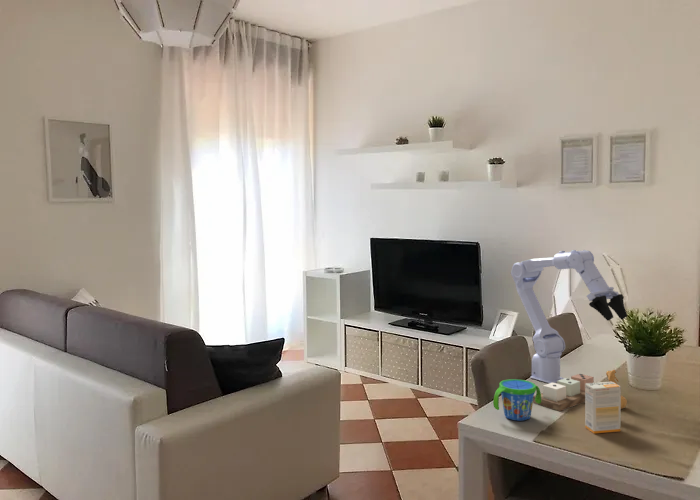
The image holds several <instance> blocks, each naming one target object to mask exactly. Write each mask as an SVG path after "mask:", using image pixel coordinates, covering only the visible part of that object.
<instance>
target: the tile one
mask: <svg viewBox="0 0 700 500" xmlns="http://www.w3.org/2000/svg"><path fill="white" fill-rule="evenodd" d="M542 393H543V398H546V399H549V400H553V401H556V402H557V401H560V400H563V399H566V386H564V385H560V384H557V383H553V382H552V383H546V384H544V385H542Z"/></svg>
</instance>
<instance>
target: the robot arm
mask: <svg viewBox="0 0 700 500" xmlns="http://www.w3.org/2000/svg"><path fill="white" fill-rule="evenodd" d="M594 262H595V256H594V254H593V252H592V251H590V250H586V249H582V250H578V251H577V249H573V250H570V251H566V250H559V251H558V252H557V253H555V254H554V256H553V257H540V258H539V257H538V258H530V259H526V260H522V261H520V262H519V261H518V262H515V263H513V265H512V267H511V272H510V275H511V277H512V280H513V282H514V284H515V290H516V292H517V295H518V297H519V298H520V301H521V303H522V305H523V307H524V310H525V312H526V314H527V316H528V318H529V320H530V323H531V325H532V327H533V330H534V332H535V333H534V335H533V336H532V341H533V347H534V351H535V353H534V354H533V355H532V359H531V375H530V376H529V378H530V379H533V380H537V381H540V382H544V383H546V384H549V383H552V382H553V383H557V381H559V380H562V379H565V378H566V377H562V376H561V356H562V354H563V352H564V351H565V350H566V343H565V339H564V338H563V336H561V334H560V333H559V331H558V330H556V329H555V328H553V327H552V326H551V325H550V323H549V321H548V319H547V317H546V314H545V313H544V311H543V309H542V306H541V304H540V302H539V300H538V298H537V296H536V295H537V294H536V293H535V291H534V286H535V285H536V283H537V281H538V280H539V278H540V277H541V274H542V272H543V271H544V268H550V267H555V268H556V269H557V270H569V269H572V270H573V269H574V270H575V271H576V273H577V274H579V276H580V277H581V279H582V281H583V283H584V284H585V286H586V287H587V289H588V290H589V293H588V294H587V295H586V298H587V300H588V302H589V303H588V305H589V306H590V307H591V308H593V309H594V310H595V311H597V312H598V313H599V314H600V315H601V316H602V317H603V318H604V319H605V320H606V321H610V320H612V319H613V318H614V314H613V312H615V314H616V315H617V316H618V318H619V319H620V320H624V319H626V318H627V317H628V313H627V311H626V307H625V303H624V296H623V294H621V293H619V292H618V291H615V290H614V289H615V288H614V287H613V286H609V284H608V283H607V281H606V280H605V278H604V277H603V275H602V274H601V272H600V270H599V269H598V268H597V266H596V264H595V263H594ZM608 300H609V302H608ZM612 310H613V312H612Z"/></svg>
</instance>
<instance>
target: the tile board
mask: <svg viewBox="0 0 700 500" xmlns="http://www.w3.org/2000/svg"><path fill="white" fill-rule="evenodd" d="M535 397H536V394H534V396H533V404H535V405H539V406H542V407H545V408H548V409H552V410H554V411H558V412H562V411H564V410H566V409H569V408H572V407H574V406H578V405H580V404H583V403H585V392H584V391H580V394H577V395H574V396H572V397H571V396H567V395H566V399H563V400H560V401H557V402H556V401H553V400H549V399H546V398H543V392H541V403H540V404H538V403H536V402H535Z"/></svg>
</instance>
